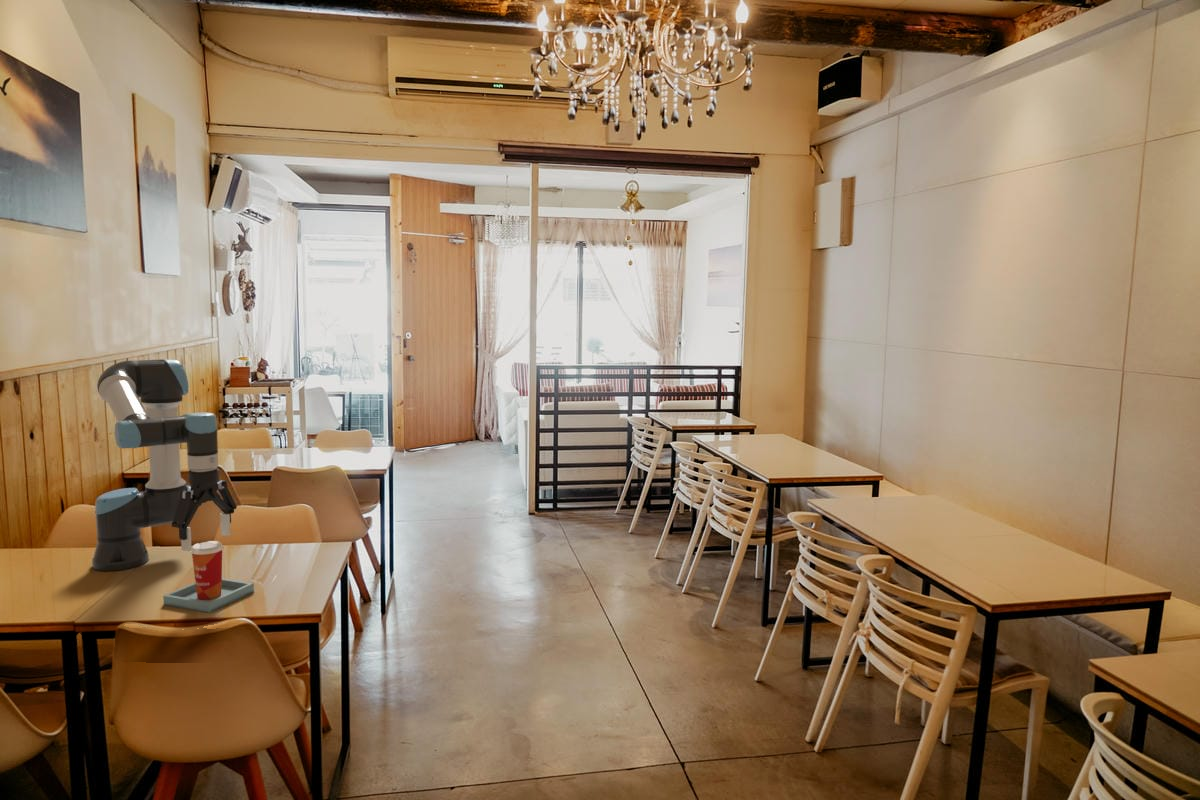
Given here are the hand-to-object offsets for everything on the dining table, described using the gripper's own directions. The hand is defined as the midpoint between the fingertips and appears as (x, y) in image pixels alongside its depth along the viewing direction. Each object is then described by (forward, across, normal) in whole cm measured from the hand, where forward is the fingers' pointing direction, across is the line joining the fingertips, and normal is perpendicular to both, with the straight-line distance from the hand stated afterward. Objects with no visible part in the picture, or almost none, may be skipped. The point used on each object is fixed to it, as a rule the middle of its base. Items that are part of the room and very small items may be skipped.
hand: (206, 542), depth 209 cm
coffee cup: (+16, 0, -1) cm, 16 cm away
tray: (+16, 0, -1) cm, 16 cm away
